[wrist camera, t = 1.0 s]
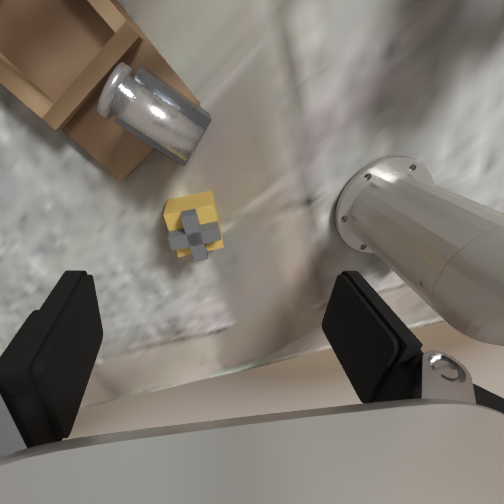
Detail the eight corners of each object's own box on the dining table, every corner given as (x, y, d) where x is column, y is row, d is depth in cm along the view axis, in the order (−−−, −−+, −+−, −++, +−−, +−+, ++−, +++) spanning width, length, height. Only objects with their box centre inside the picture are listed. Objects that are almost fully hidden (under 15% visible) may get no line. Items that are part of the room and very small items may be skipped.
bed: (199, 103, 27) (200, 104, 25) (122, 178, 29) (116, 186, 27) (-68, -225, 17) (-112, -278, 14) (-155, -67, 19) (-206, -89, 16)
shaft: (209, 113, 28) (213, 125, 20) (186, 152, 29) (182, 177, 21) (143, 64, 25) (117, 55, 17) (121, 109, 26) (89, 120, 18)
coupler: (211, 190, 32) (214, 210, 27) (221, 229, 34) (225, 254, 29) (167, 199, 31) (161, 221, 26) (180, 238, 34) (177, 265, 29)
